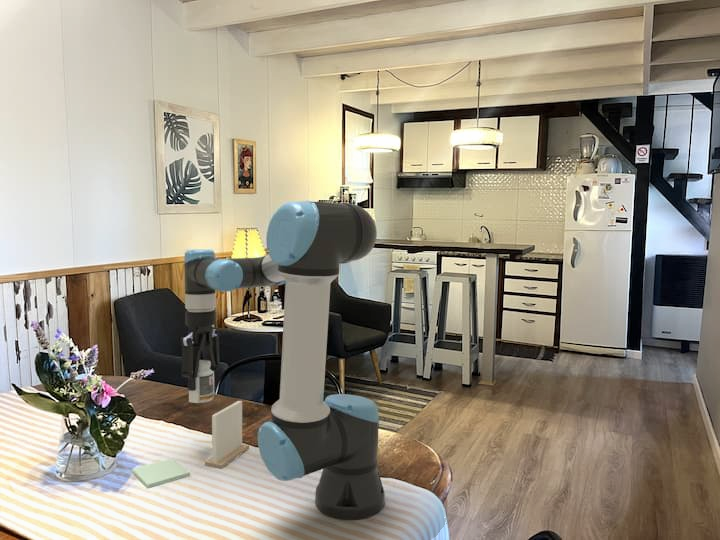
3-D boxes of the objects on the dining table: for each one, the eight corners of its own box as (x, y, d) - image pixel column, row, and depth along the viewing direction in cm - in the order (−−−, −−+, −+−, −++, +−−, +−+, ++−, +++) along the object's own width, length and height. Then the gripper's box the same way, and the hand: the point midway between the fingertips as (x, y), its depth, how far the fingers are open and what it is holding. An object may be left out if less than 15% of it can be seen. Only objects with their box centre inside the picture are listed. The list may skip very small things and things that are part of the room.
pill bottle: (216, 396, 146) (216, 359, 146) (208, 403, 141) (208, 365, 140) (195, 396, 147) (195, 359, 146) (187, 402, 141) (186, 364, 141)
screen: (233, 445, 150) (233, 399, 149) (249, 448, 148) (249, 401, 147) (204, 465, 138) (204, 415, 137) (221, 468, 136) (221, 417, 135)
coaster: (189, 475, 132) (189, 472, 132) (147, 488, 126) (147, 484, 126) (173, 461, 140) (173, 457, 140) (132, 472, 133) (132, 469, 133)
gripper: (209, 304, 152) (210, 387, 154) (164, 314, 135) (166, 407, 136) (233, 305, 150) (234, 390, 152) (190, 315, 132) (192, 411, 134)
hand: (201, 398), depth 144 cm, fingers closed on pill bottle, 6 cm apart
